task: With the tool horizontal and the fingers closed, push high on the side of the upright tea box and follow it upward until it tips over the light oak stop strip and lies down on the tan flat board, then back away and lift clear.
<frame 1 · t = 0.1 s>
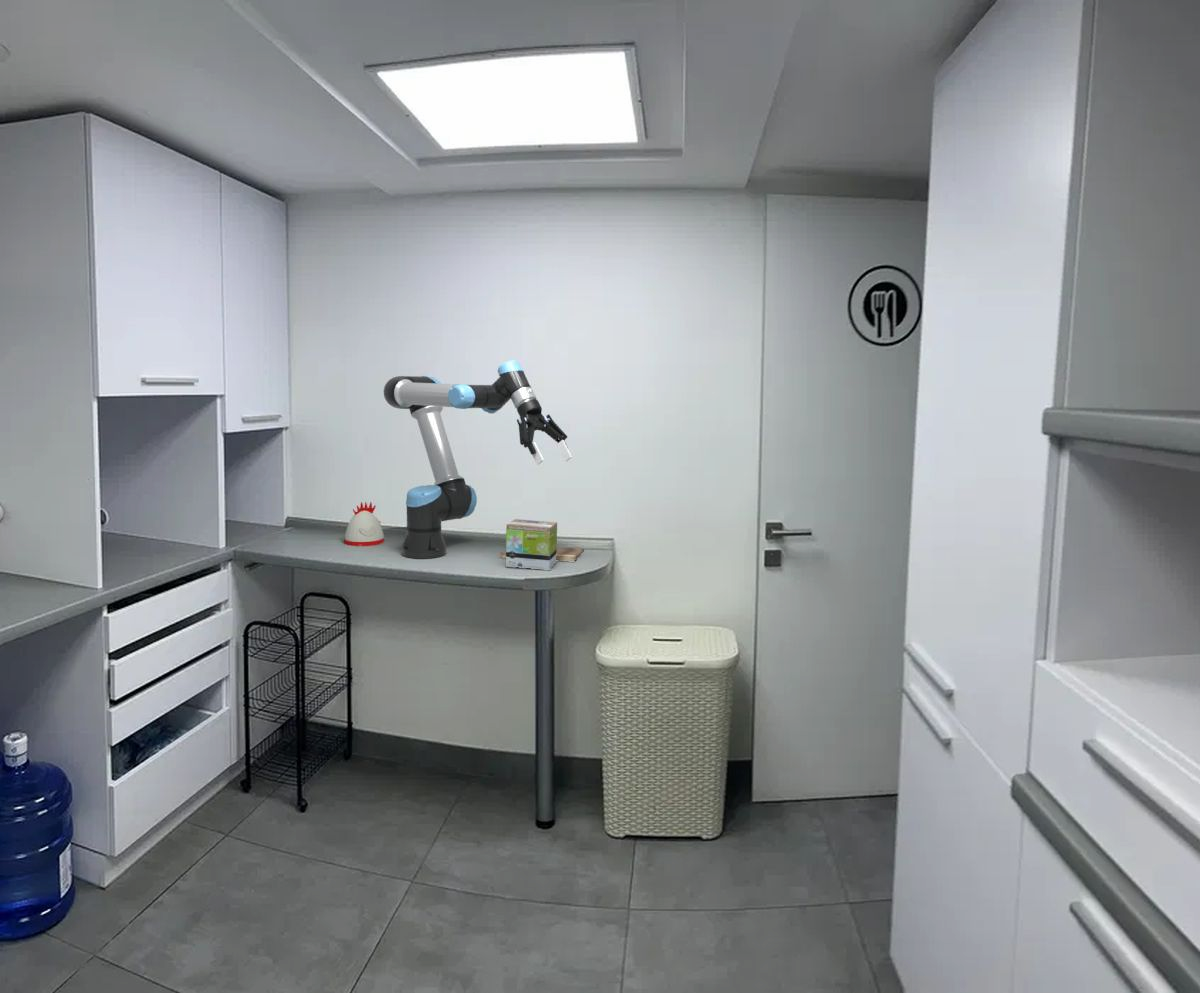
hand: (555, 461, 240), 36 cm above the worktop, tool tilted 35°, fingers open, 13 cm apart
tea box: (531, 566, 251), on the worktop
kitchen timer: (364, 542, 280), on the worktop
tan flat board: (543, 553, 269), on the worktop
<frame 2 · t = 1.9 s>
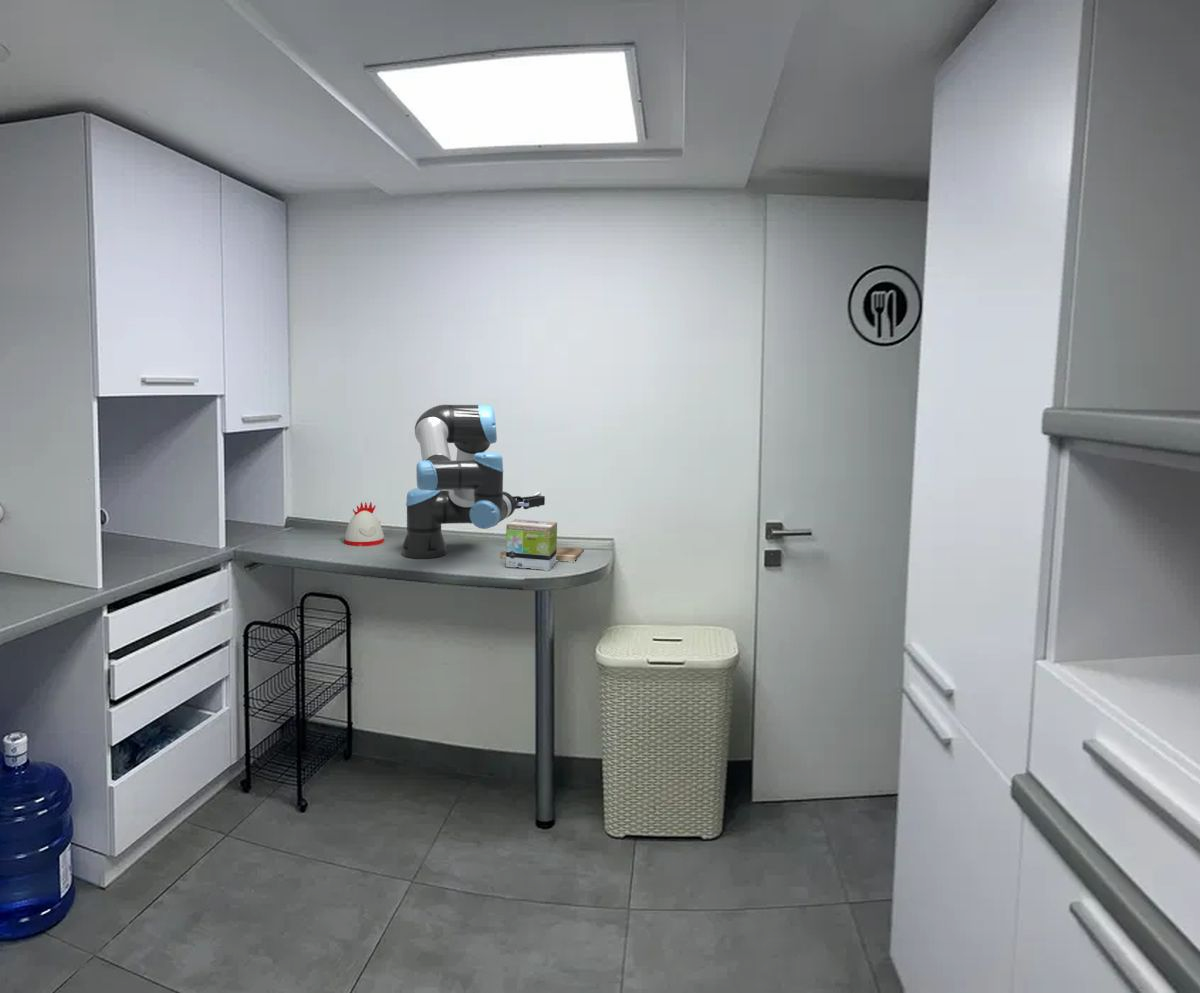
hand: (518, 495, 230), 26 cm above the worktop, tool horizontal, fingers open, 12 cm apart
nothing on the worktop moved.
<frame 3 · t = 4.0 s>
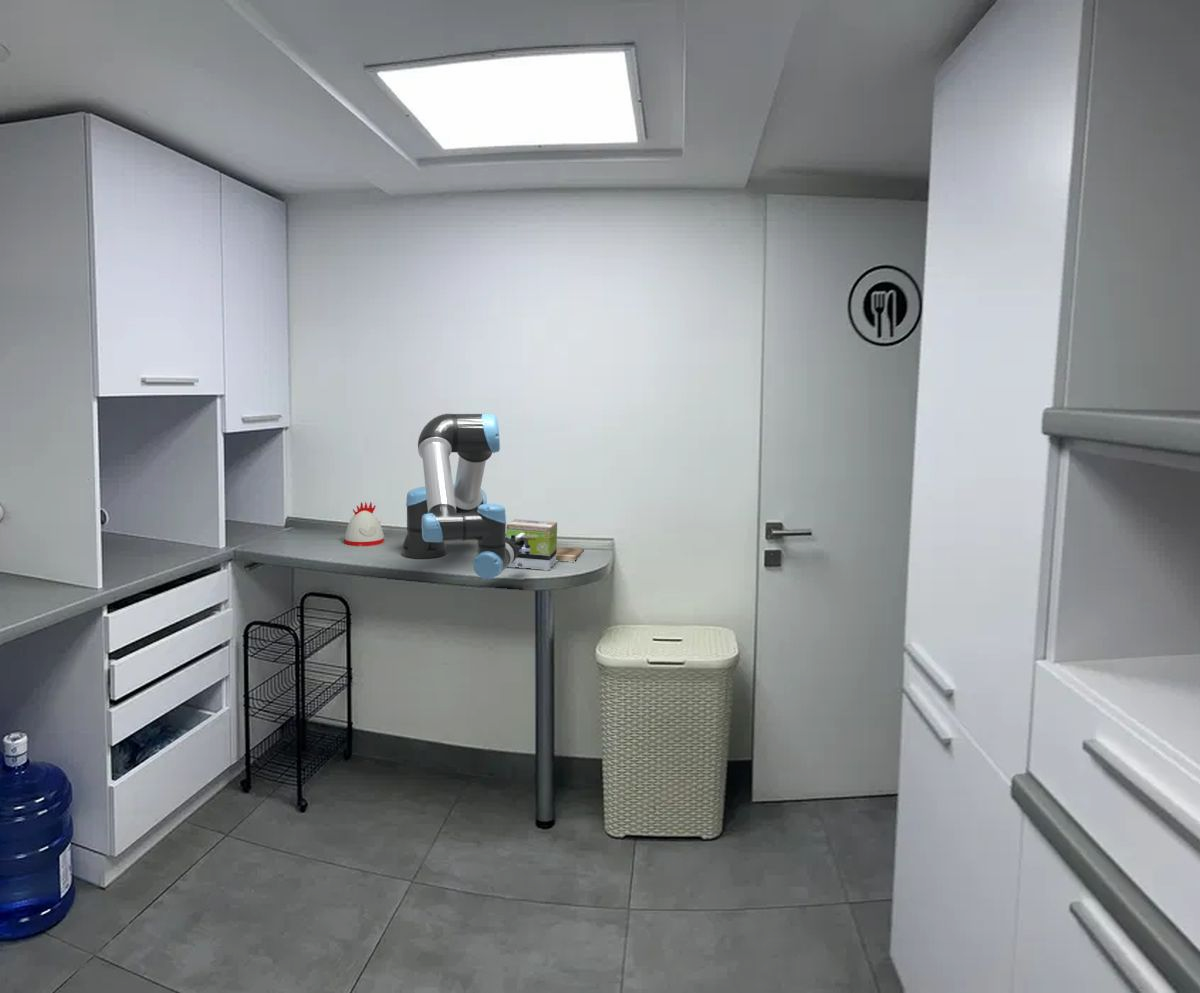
hand: (522, 537, 238), 12 cm above the worktop, tool horizontal, fingers closed
nothing on the worktop moved.
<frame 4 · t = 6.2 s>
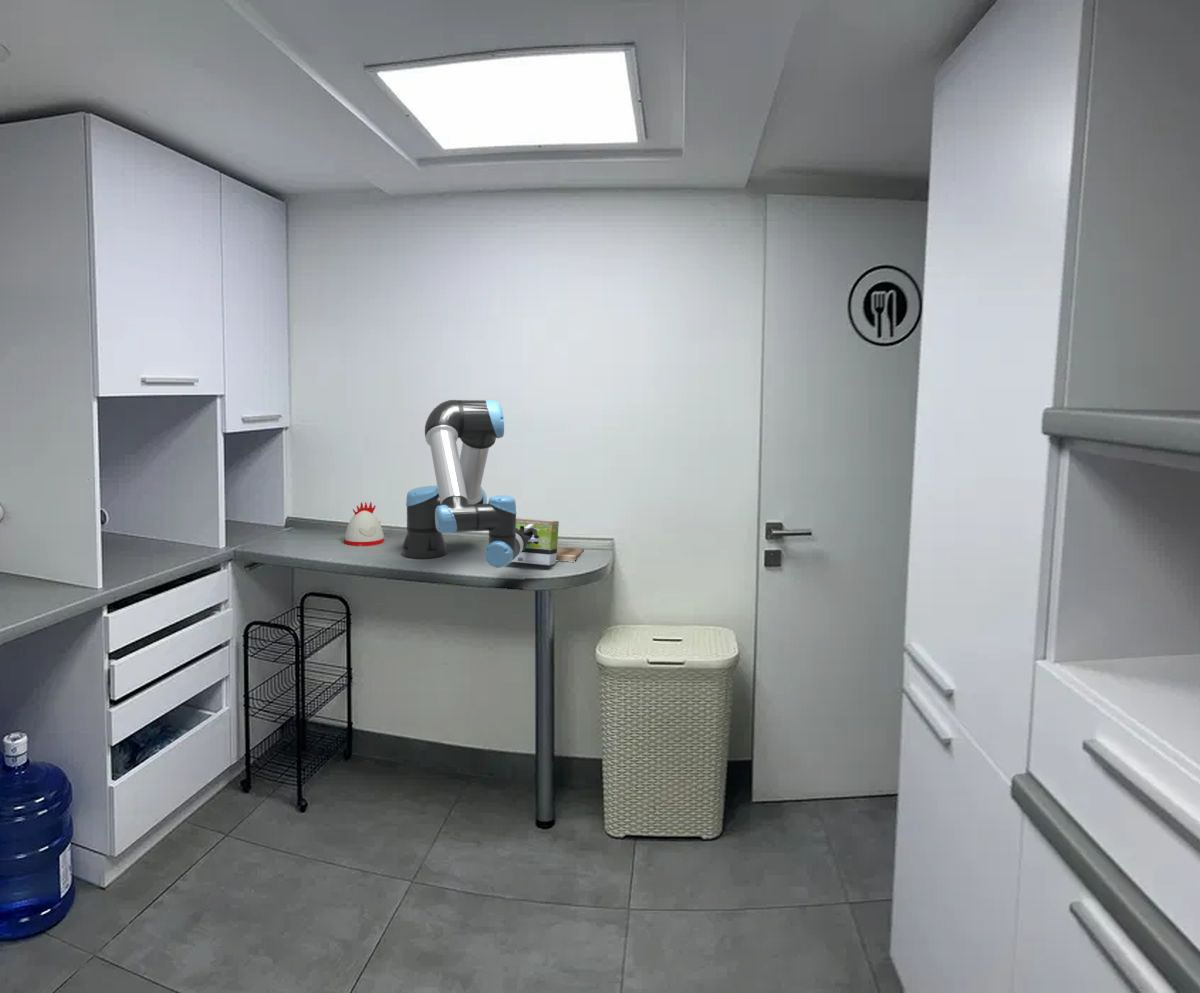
hand: (531, 528, 246), 13 cm above the worktop, tool horizontal, fingers closed
tea box: (531, 564, 251), point 1 cm above the worktop, touching gripper
everything else where it was.
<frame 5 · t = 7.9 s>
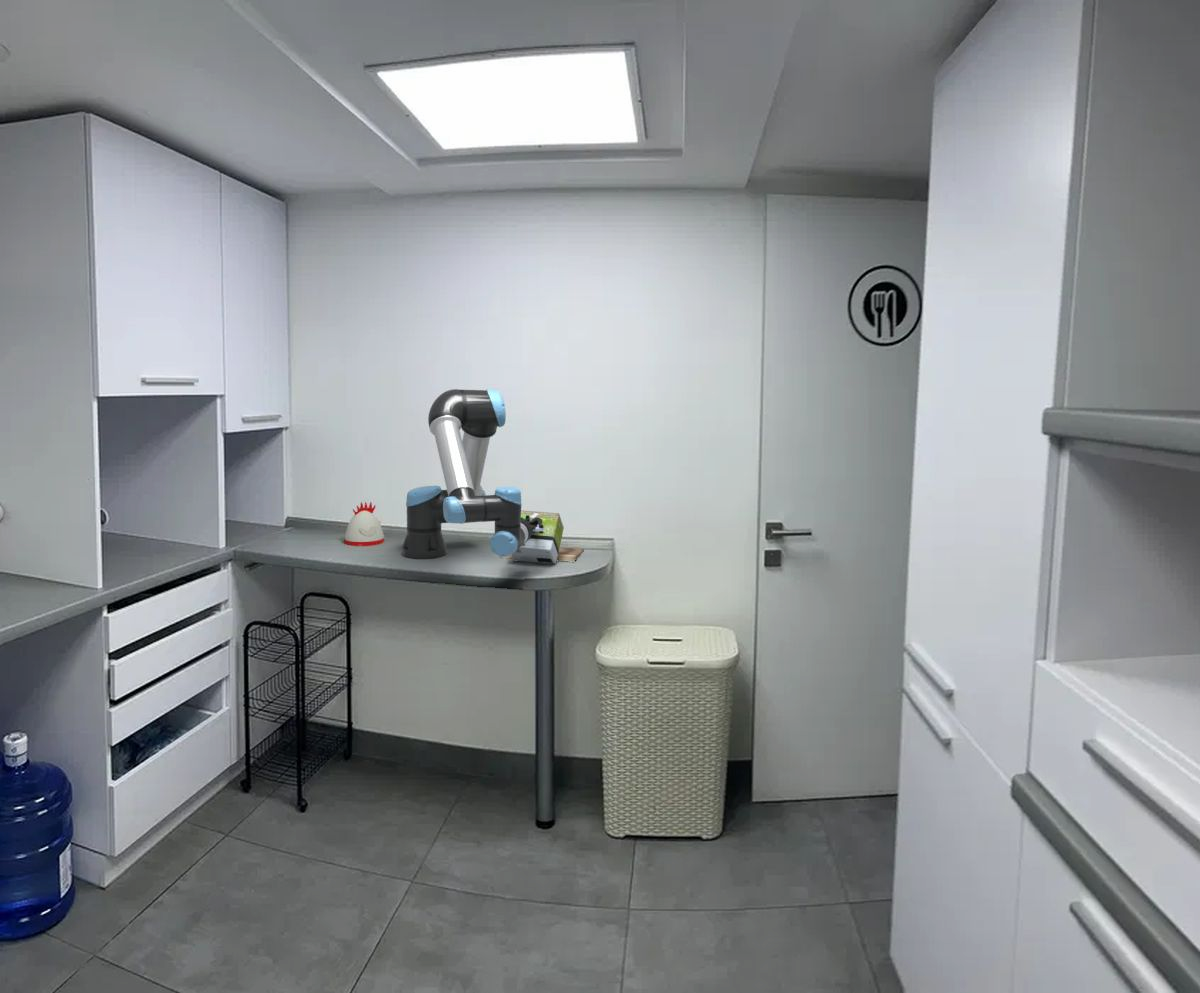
hand: (537, 517, 253), 16 cm above the worktop, tool horizontal, fingers closed
tea box: (532, 556, 252), point 3 cm above the worktop, touching gripper
everything else where it was.
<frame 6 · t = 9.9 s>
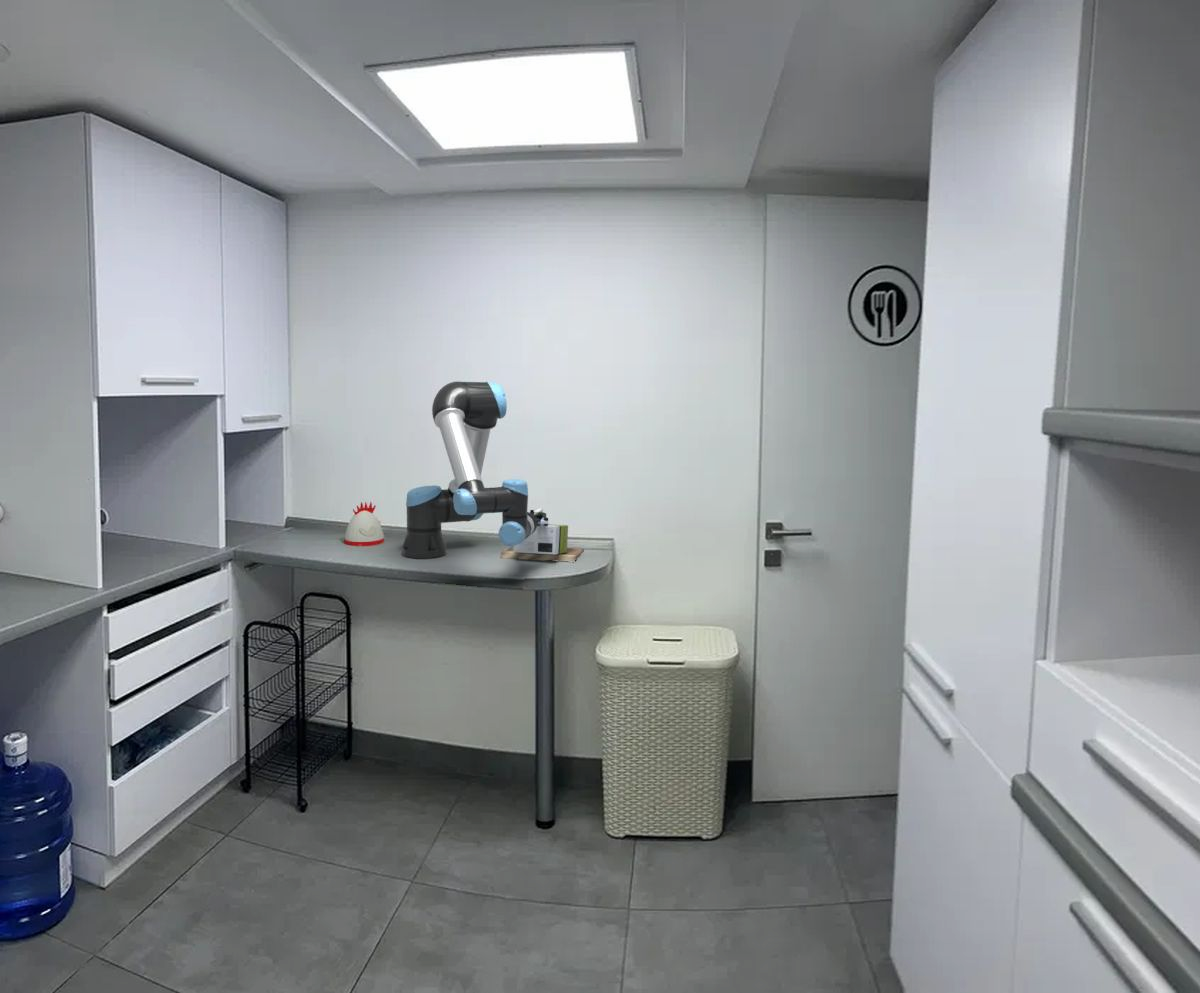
hand: (540, 512, 260), 16 cm above the worktop, tool horizontal, fingers closed
tea box: (534, 539, 254), point 8 cm above the worktop, touching tan flat board
everything else where it was.
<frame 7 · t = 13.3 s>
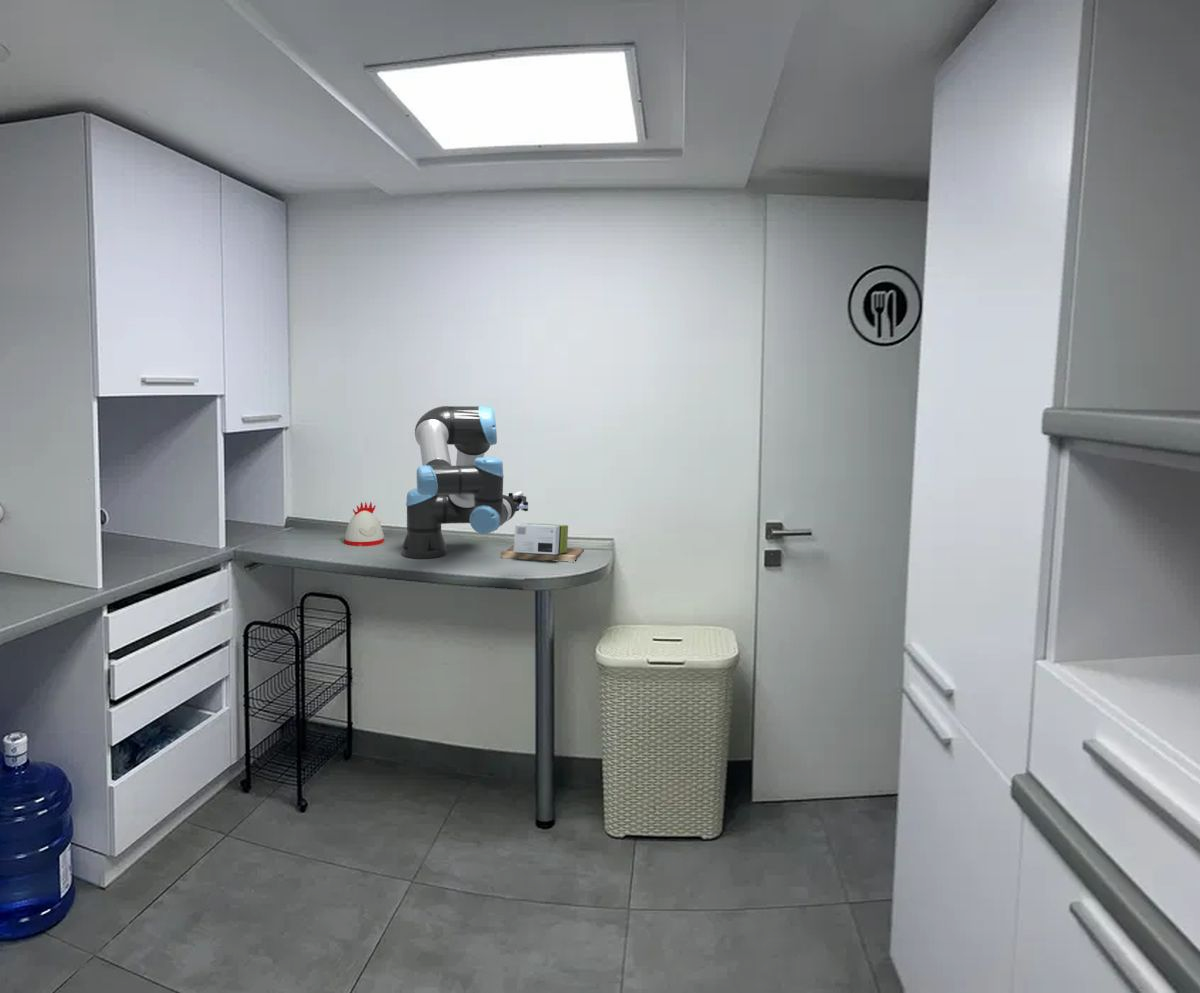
hand: (520, 495, 232), 26 cm above the worktop, tool horizontal, fingers closed
nothing on the worktop moved.
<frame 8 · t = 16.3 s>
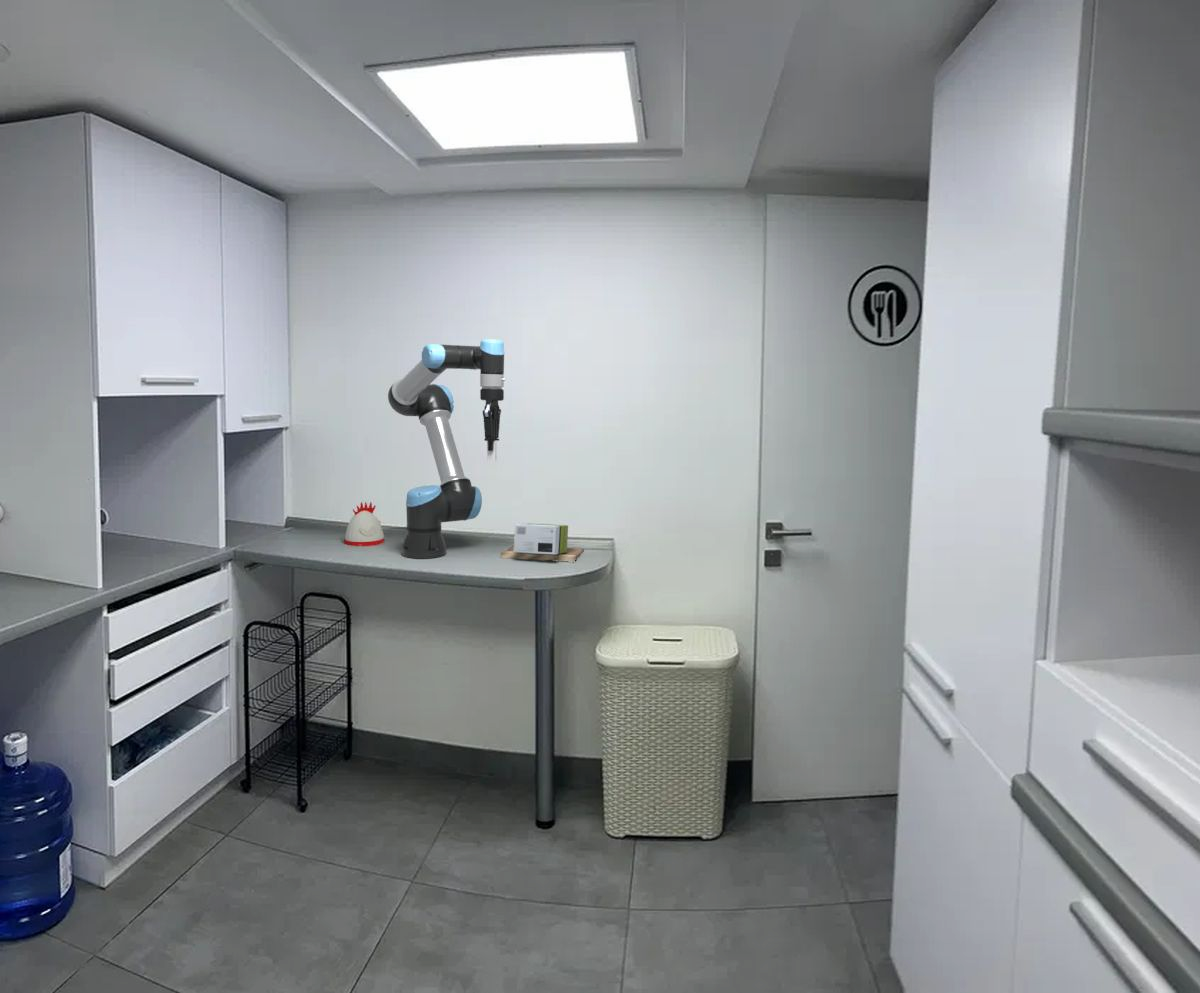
hand: (491, 460, 249), 34 cm above the worktop, tool pointing down, fingers closed
nothing on the worktop moved.
at the end: tea box tilted 100°; tea box touching tan flat board; tea box inside the target area (3.7 cm from its centre), point 8.0 cm above the worktop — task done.
